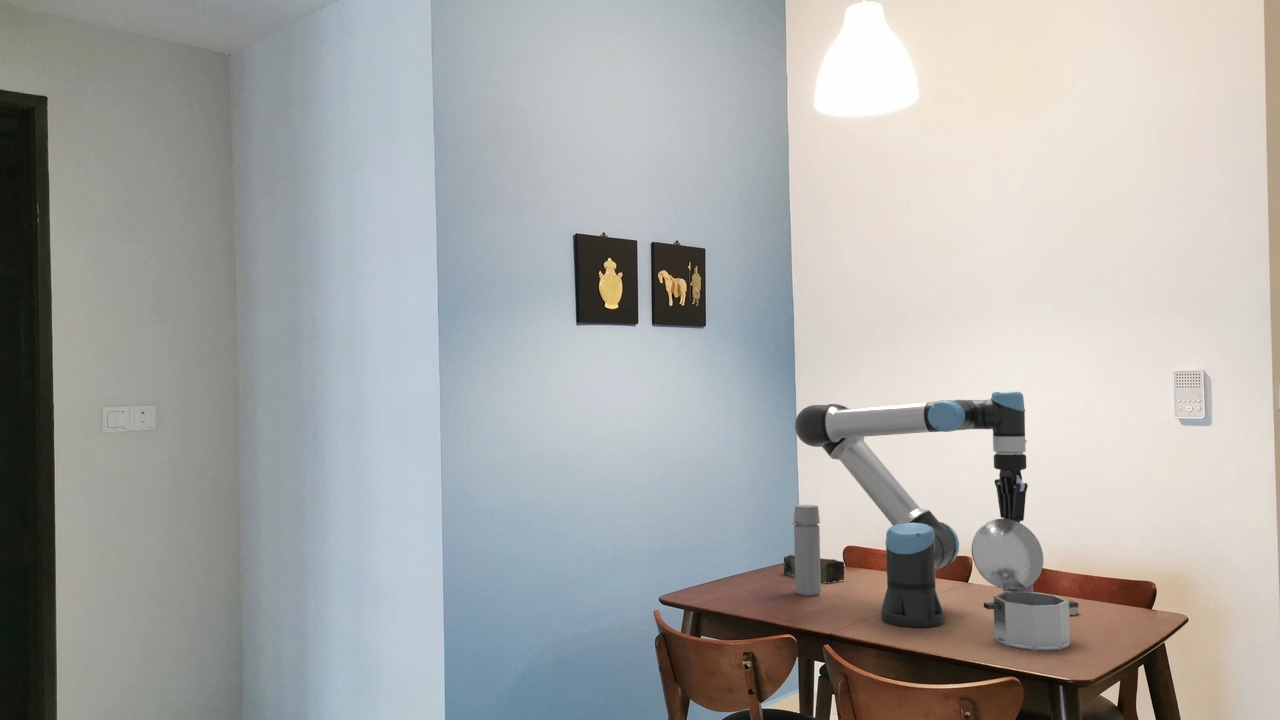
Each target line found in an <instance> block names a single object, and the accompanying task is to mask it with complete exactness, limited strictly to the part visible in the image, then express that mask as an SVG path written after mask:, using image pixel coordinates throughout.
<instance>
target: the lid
mask: <svg viewBox="0 0 1280 720" xmlns="http://www.w3.org/2000/svg"><path fill="white" fill-rule="evenodd" d="M1043 552H1044V551H1043V549H1042V545H1041V543H1040V541H1039V539H1038V538H1037V537H1036V535H1035V534H1034V532H1033V531H1031V529H1029V528H1028V527H1027V526H1026V525H1025V524H1022V523H1021V522H1020V523H1019V522H1017V521H1014V520H1010V519H1004V518H996V519H992V520H990V521H988V522H986V523H984V524H983V525H981V526H980V527H979V528H978V529H977V531H976V532H975V534H974V537H973V538H972V541H971V557H972V562H973V564H974V566H975V567H976V570H977V571H978V572H979V574H980V576H981V577H982V578H983V579H984V580H986V582H988V583H989V584H990V585H992V586H994V587H996V588H998V589H1002V591H1003V592H1009V591H1025V590H1026V587H1028V586H1030V585H1031V584H1033V585H1034V583H1035V582H1036V581H1037V579H1038V578H1039V577H1040V575H1041V573H1042V571H1043V567H1044V553H1043ZM1038 580H1039V579H1038Z"/></svg>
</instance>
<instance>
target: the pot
mask: <svg viewBox="0 0 1280 720" xmlns="http://www.w3.org/2000/svg"><path fill="white" fill-rule="evenodd" d="M1063 598H1064V597H1060V596H1059V595H1056V594H1047V593H1041V592H1034V591H1033V592H1009V591H1003V592H1001V593H999V594H997V595H993V602H992V601H991V602H983V608H984V609H987V610H993V625H994V626H993V628H994V631H993V632H994V640H996V642H998V643H999V644H1001V645H1003V646H1006V647H1011V648H1015V649H1021V650H1025V651H1026V650H1027V651H1034V652H1035V651H1039V652H1041V651H1042V652H1051V651H1054V652H1055V651H1062V650H1066V649H1068V648H1069V647H1070V645H1071V625H1070V623H1071V621H1070V620H1071V619H1070V616H1069V608H1074V607H1078V608H1079V602H1077V601H1074V600H1071V601H1068V600H1065V599H1066V598H1065V599H1063Z"/></svg>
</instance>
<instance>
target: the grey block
mask: <svg viewBox="0 0 1280 720" xmlns="http://www.w3.org/2000/svg"><path fill="white" fill-rule="evenodd" d="M1062 598H1063V599H1065V600H1068V601H1072V600H1070V599H1069V598H1065V597H1062ZM1078 613H1079V606H1078V607H1074V608H1069V617H1071V616H1070V615H1074V616H1076V615H1078Z"/></svg>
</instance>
